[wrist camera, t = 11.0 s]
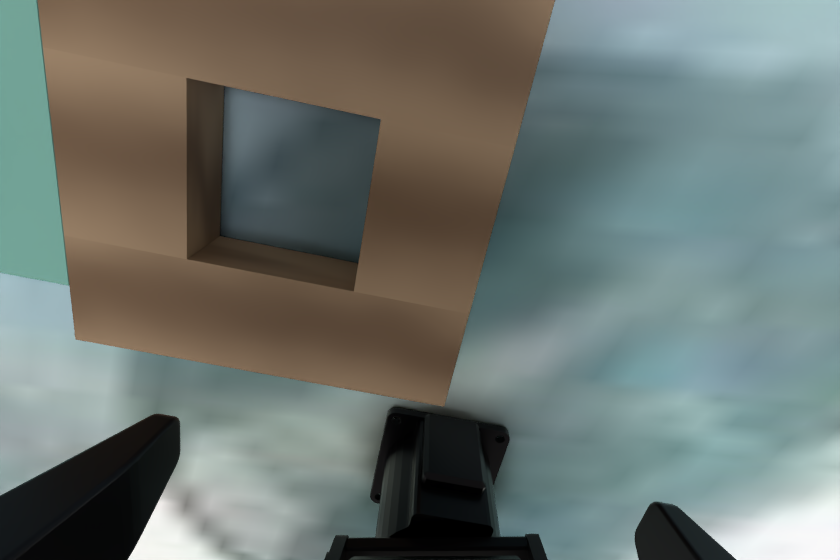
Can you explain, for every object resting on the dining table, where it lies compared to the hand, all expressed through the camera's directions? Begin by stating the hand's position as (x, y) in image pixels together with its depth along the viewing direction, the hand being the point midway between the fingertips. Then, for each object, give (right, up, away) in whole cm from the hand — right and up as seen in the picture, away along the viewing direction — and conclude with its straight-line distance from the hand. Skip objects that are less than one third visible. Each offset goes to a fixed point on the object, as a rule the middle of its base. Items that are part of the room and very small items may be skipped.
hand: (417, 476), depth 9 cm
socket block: (-5, +8, +11) cm, 14 cm away
